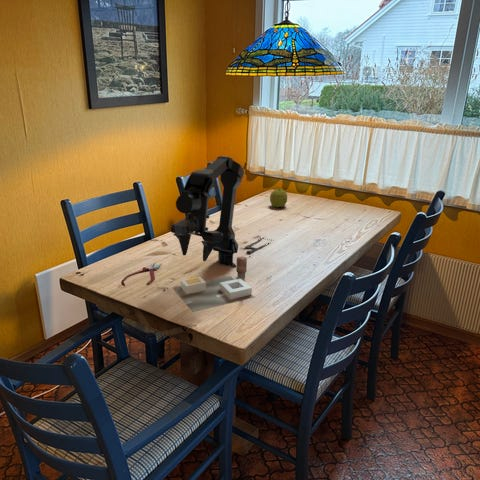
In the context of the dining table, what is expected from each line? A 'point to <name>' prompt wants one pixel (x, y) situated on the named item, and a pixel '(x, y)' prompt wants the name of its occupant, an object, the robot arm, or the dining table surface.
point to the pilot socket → (235, 288)
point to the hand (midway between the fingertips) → (194, 258)
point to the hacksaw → (252, 247)
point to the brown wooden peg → (241, 267)
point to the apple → (278, 198)
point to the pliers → (151, 269)
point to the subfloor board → (208, 295)
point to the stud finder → (193, 285)
